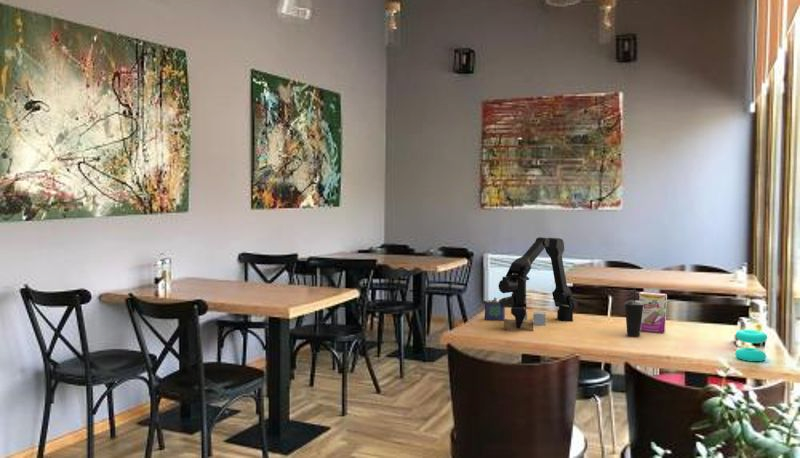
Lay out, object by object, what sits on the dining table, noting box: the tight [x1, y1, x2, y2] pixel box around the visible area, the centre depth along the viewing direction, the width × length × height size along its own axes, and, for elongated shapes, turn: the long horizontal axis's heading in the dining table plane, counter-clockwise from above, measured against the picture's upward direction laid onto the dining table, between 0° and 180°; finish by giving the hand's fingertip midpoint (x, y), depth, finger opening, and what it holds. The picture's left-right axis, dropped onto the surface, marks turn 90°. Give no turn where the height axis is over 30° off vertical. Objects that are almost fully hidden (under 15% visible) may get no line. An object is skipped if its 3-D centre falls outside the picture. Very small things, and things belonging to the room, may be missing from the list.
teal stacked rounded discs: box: [734, 329, 768, 362], centre depth 247 cm, size 10×10×10 cm
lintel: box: [503, 318, 534, 332], centre depth 294 cm, size 12×5×4 cm, turn 85°
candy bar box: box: [638, 291, 668, 334], centre depth 293 cm, size 11×5×16 cm, turn 65°
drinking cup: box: [624, 287, 644, 338], centre depth 284 cm, size 8×8×20 cm
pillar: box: [533, 311, 546, 327], centre depth 305 cm, size 5×5×5 cm
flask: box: [484, 297, 506, 322], centre depth 313 cm, size 9×3×11 cm, turn 88°
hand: (518, 327), depth 294 cm, fingers closed on lintel, 5 cm apart
